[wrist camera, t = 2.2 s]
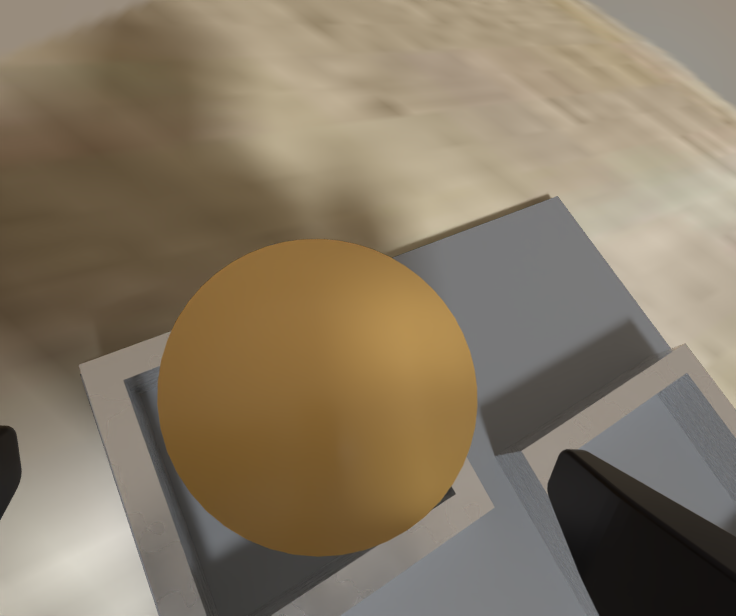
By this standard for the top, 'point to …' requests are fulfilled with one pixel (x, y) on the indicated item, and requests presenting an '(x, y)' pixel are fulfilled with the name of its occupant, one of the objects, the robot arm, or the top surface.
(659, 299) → the top surface
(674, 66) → the top surface
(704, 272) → the top surface
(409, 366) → the orange and white cylinder
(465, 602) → the slate panel
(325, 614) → the grey square frame
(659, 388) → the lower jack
